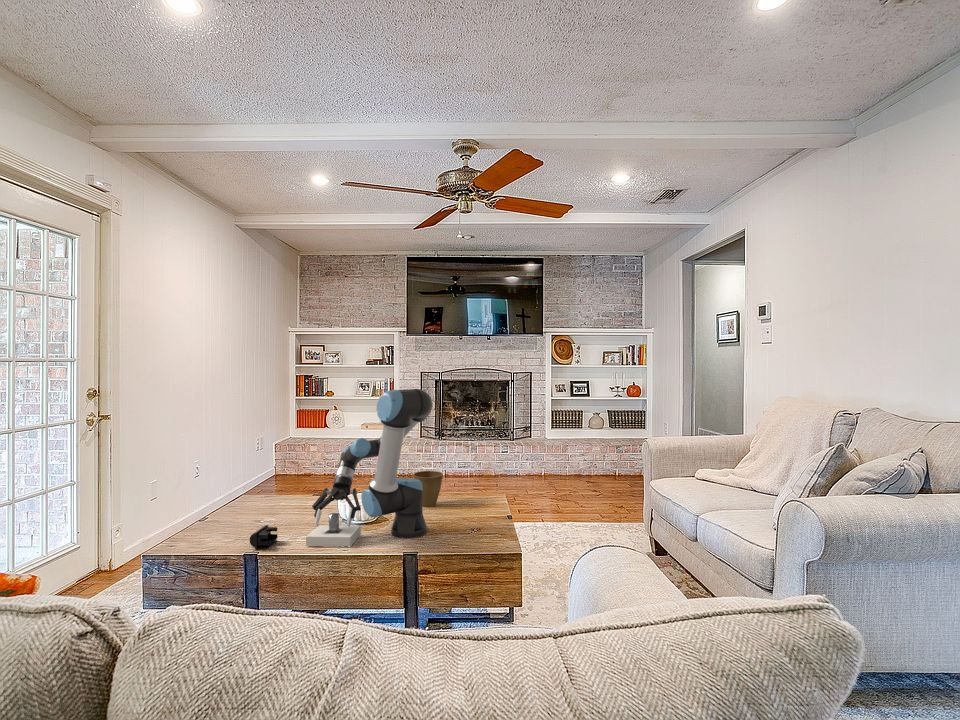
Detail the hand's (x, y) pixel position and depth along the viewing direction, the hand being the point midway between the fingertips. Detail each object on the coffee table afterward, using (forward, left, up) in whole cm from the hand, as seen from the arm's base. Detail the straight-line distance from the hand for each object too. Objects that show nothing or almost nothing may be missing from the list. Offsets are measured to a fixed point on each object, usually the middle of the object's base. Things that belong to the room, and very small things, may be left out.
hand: (332, 525), depth 217 cm
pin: (0, -2, -7) cm, 8 cm away
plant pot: (-30, -55, -7) cm, 63 cm away
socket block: (0, -2, -7) cm, 8 cm away
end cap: (+27, +4, -7) cm, 28 cm away
